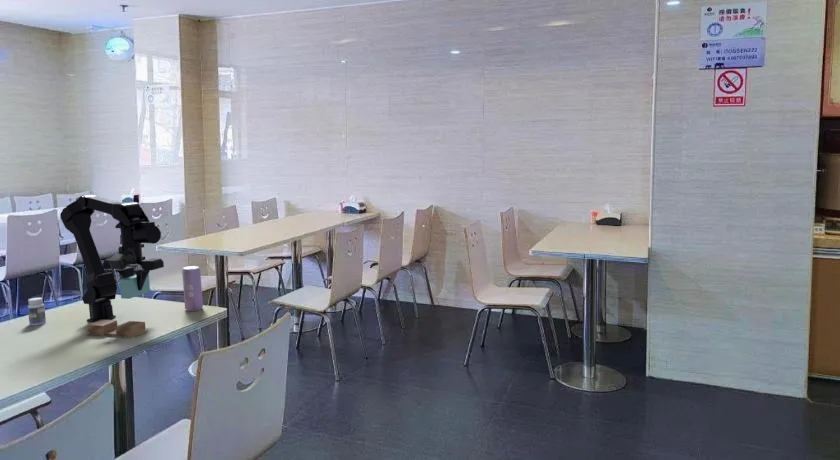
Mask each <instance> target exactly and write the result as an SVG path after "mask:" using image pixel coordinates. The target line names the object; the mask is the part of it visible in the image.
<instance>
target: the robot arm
mask: <svg viewBox="0 0 840 460" xmlns="http://www.w3.org/2000/svg"><path fill="white" fill-rule="evenodd" d="M95 211H97V212H101V213H104V214H108V215H110V216H111V217H112V218H113V219H114V220H116V221H118V223H117V224H116V225H115V226H114V227H115V228H116V229H120V241H121V243H120V244H121V245H120V246H118V252H117V253H115V254H114V255H112V256H111V257H109V258H107V259H104V260H103V261H102V260H101V257H100V254H99V252H98V249H97V246H96V243H95V241H94V238H93V235H92V233H91V230H90V229H91V225H92V218H91V217H92V215H94V213H95ZM59 215H60V216H59V217H60V220H61V222H62V224H63V226H64V228H65V229H66V230H67V231H68V232H70V233H71V234H72V235H73V237H74V239H75V241H76V244H77V247H78V250H79V253H80V255H81V258H82V261H83V263H84V266H85V269H86V272H87V274H88V275H87V278H86V283H85V285H86V289H87V290H86V291H85V293H84V294H83V295H82V297H81V298H82V301H83V304H85V305H88V310H89V311H88V312H89V318H87V319H86V321H87V322H96V321H99V320H113V319H115V318H116V316H117V315H116V314H115V315H114V311H113V305H112V301H113V300H115V299H116V296H117V291H118V282H117V280H116V278H115V274H114V273H113V272H109V271H107V270H114V272H116V273H118V274H120V275H121V276H122V279H124V278H127V277H130V276H133V275H136V276H137V286H138V290H139V291H140V290H142V287H143V285H144V282H145V280H146V277H147V275H148V273H149V274H150V272H151V271H154V270H158V269H162V268H165V264H164V260H163V259H162V258H154V257H153V258H149V259H146V256H143V249H142V248H145V244H157V243H158V242H159V241H160V240H161V238H162V237H161V236H162V231H161V230H160V227H158V226H157V225H156V224H155V223H156V222H155V221H150V220H149V217H148V216H147V214H146V213H145V211H144V209H143V208H142V207H141V204H140V203H139V202H137V201H136V202H135V201H130V202H129V201H127V202H126V201H122V202H121V201H115V200H111V199H108V198H104V197H100V196H97V195H94V194H85V195H81V196H79V197H77V198H76V200H74V201H72V202H71V203H69V204H68V205H66V206H65V207H64V208H62V210H61V213H60V214H59ZM102 262H103V263H102ZM135 267H136V268H137V269H135Z"/></svg>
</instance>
